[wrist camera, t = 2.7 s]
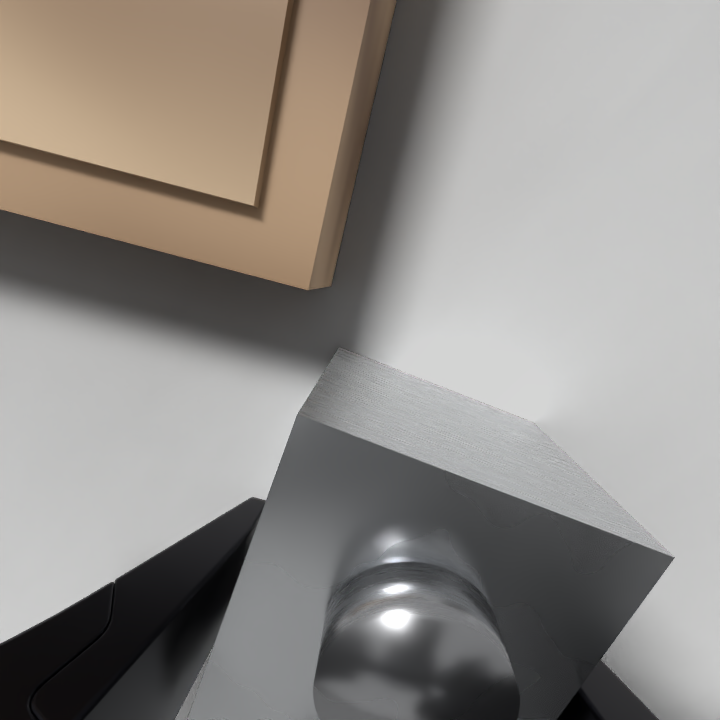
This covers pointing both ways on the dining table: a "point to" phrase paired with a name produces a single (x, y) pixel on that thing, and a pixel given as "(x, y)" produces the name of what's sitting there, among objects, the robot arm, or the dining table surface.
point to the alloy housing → (423, 565)
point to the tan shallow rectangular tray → (192, 124)
